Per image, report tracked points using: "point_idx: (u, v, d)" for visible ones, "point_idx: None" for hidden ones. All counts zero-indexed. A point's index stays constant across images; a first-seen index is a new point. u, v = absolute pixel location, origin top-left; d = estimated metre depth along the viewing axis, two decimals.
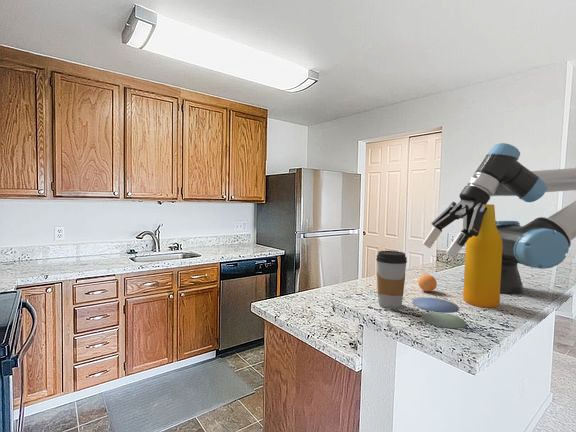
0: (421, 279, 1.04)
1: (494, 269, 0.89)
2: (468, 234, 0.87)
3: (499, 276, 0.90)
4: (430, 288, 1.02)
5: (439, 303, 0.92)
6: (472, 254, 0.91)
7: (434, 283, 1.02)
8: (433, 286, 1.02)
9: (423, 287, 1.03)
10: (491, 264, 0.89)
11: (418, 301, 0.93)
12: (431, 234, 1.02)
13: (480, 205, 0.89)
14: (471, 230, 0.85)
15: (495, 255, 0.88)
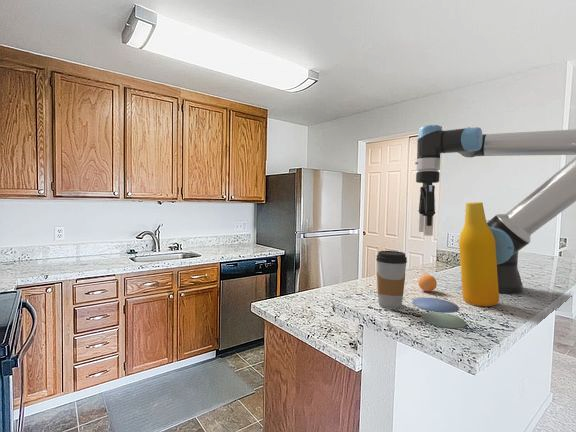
0: (421, 279, 1.04)
1: (489, 268, 0.89)
2: (429, 215, 1.05)
3: (495, 273, 0.90)
4: (430, 288, 1.02)
5: (439, 303, 0.92)
6: (466, 254, 0.91)
7: (434, 283, 1.02)
8: (433, 286, 1.02)
9: (423, 287, 1.03)
10: (485, 262, 0.88)
11: (418, 301, 0.93)
12: (420, 221, 1.18)
13: (427, 187, 1.06)
14: (427, 212, 1.04)
15: (489, 253, 0.88)
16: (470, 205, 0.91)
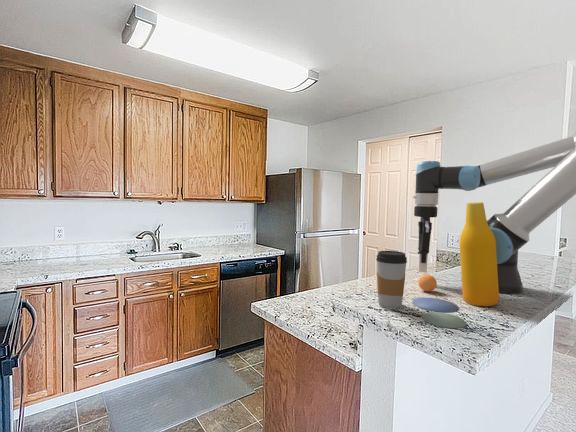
0: (421, 279, 1.04)
1: (490, 268, 0.88)
2: (423, 253, 1.11)
3: (496, 273, 0.89)
4: (430, 288, 1.02)
5: (439, 303, 0.92)
6: (467, 254, 0.91)
7: (434, 283, 1.02)
8: (433, 286, 1.02)
9: (423, 287, 1.03)
10: (486, 263, 0.88)
11: (418, 301, 0.93)
12: None
13: (424, 229, 1.07)
14: (421, 252, 1.11)
15: (489, 253, 0.88)
16: (471, 205, 0.91)
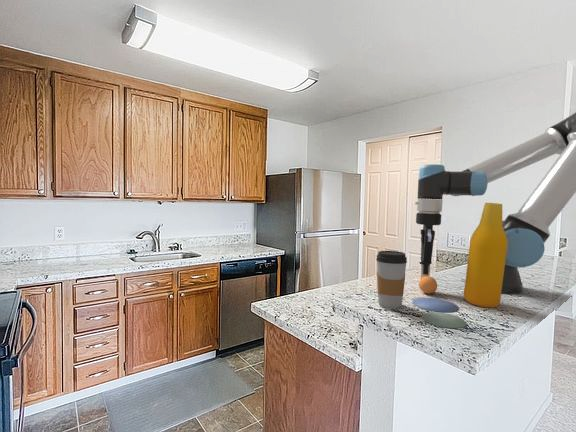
0: (421, 284, 1.01)
1: (497, 270, 0.88)
2: (425, 264, 1.03)
3: (501, 277, 0.89)
4: (430, 292, 1.01)
5: (439, 303, 0.92)
6: (476, 253, 0.90)
7: (435, 288, 1.00)
8: (434, 290, 1.00)
9: (423, 291, 1.02)
10: (494, 265, 0.87)
11: (418, 301, 0.93)
12: None
13: (426, 238, 0.99)
14: (423, 262, 1.02)
15: (499, 256, 0.87)
16: (489, 205, 0.88)
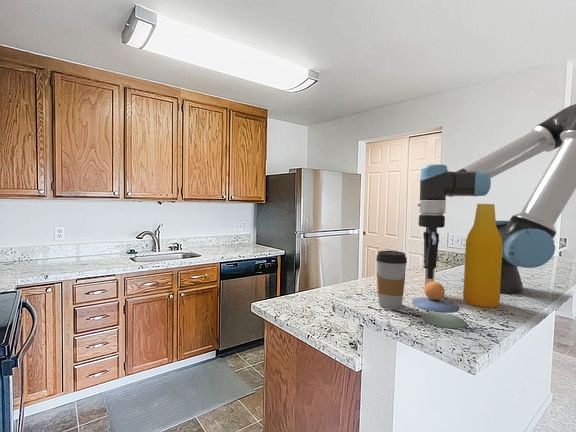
0: (426, 294, 0.96)
1: (494, 269, 0.89)
2: (430, 268, 0.99)
3: (499, 276, 0.90)
4: None
5: (439, 303, 0.92)
6: (472, 254, 0.91)
7: None
8: None
9: None
10: (490, 264, 0.88)
11: (418, 301, 0.93)
12: None
13: (430, 241, 0.95)
14: (428, 266, 0.98)
15: (495, 255, 0.88)
16: (482, 206, 0.91)
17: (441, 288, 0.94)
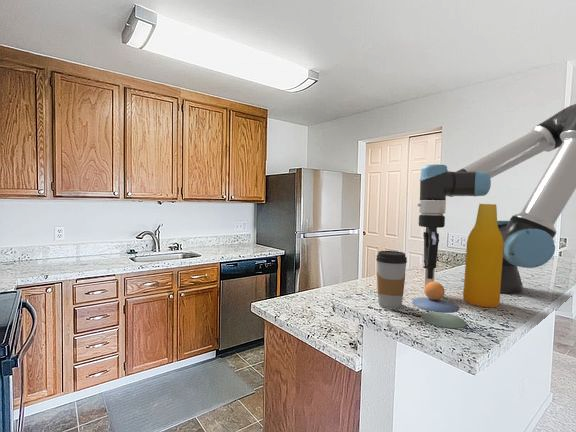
0: (426, 294, 0.96)
1: (494, 269, 0.89)
2: (430, 268, 0.99)
3: (499, 276, 0.90)
4: None
5: (439, 303, 0.92)
6: (473, 253, 0.91)
7: None
8: None
9: None
10: (491, 264, 0.89)
11: (418, 301, 0.93)
12: None
13: (430, 241, 0.95)
14: (428, 266, 0.98)
15: (496, 255, 0.88)
16: (483, 205, 0.91)
17: (441, 288, 0.94)
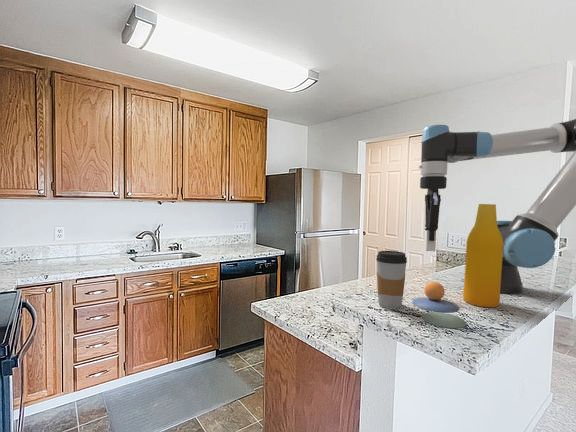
0: (426, 294, 0.96)
1: (494, 269, 0.89)
2: (431, 230, 0.99)
3: (499, 276, 0.90)
4: None
5: (439, 303, 0.92)
6: (473, 253, 0.91)
7: None
8: None
9: None
10: (491, 263, 0.89)
11: (418, 301, 0.93)
12: None
13: (432, 201, 0.95)
14: (429, 228, 0.98)
15: (496, 255, 0.89)
16: (483, 205, 0.91)
17: (441, 288, 0.94)
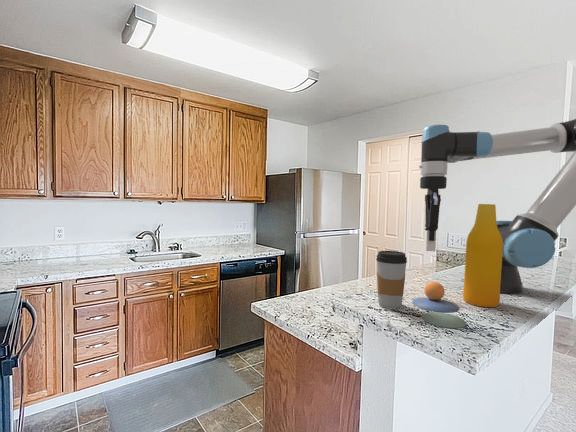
0: (426, 294, 0.96)
1: (494, 269, 0.89)
2: (431, 230, 0.99)
3: (499, 276, 0.90)
4: None
5: (439, 303, 0.92)
6: (472, 253, 0.91)
7: None
8: None
9: None
10: (490, 263, 0.89)
11: (418, 301, 0.93)
12: None
13: (432, 201, 0.95)
14: (429, 228, 0.98)
15: (495, 255, 0.89)
16: (482, 205, 0.91)
17: (441, 288, 0.94)
